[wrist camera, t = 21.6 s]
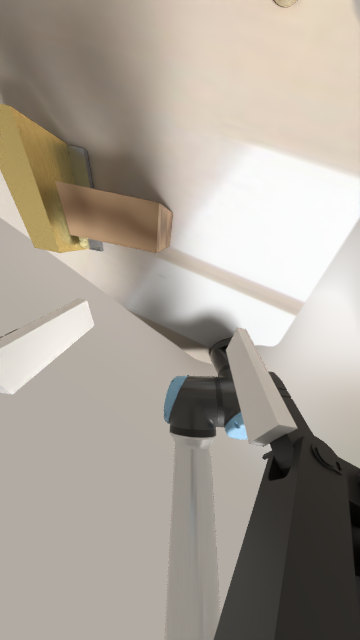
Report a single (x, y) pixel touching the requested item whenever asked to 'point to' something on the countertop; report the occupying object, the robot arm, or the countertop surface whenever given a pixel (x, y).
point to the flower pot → (285, 2)
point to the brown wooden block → (115, 218)
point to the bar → (36, 179)
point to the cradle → (82, 184)
